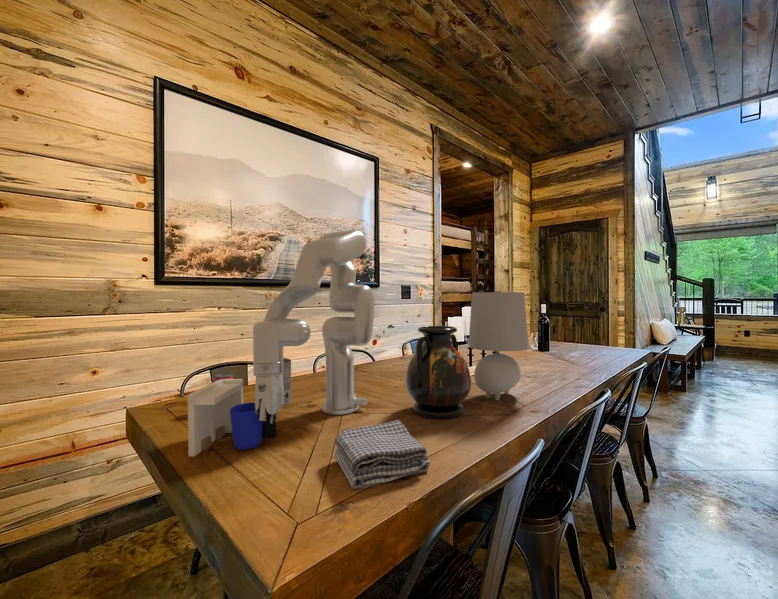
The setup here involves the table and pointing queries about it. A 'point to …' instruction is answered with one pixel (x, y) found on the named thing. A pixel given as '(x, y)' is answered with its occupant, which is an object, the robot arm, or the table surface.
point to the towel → (379, 454)
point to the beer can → (223, 376)
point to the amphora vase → (438, 374)
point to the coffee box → (287, 380)
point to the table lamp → (498, 338)
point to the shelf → (211, 413)
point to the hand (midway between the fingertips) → (269, 437)
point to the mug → (246, 426)
